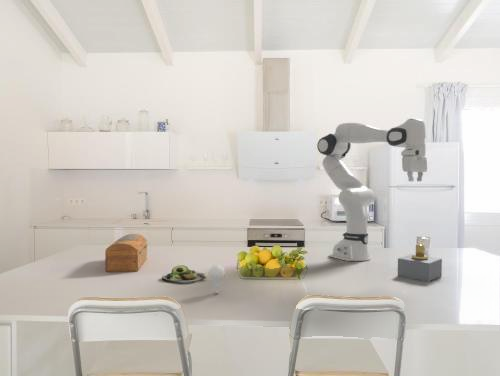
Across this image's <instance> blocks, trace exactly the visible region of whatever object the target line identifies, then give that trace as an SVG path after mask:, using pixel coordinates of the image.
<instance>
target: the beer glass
mask: <svg viewBox="0 0 500 376" xmlns="http://www.w3.org/2000/svg"><path fill="white" fill-rule="evenodd" d="M417 244H420V245H424V255H425V256H428V257H431V256H430V255H431V251H432V250H431V248H432V241H431V237H429V236H416V237H415V246H416V245H417Z"/></svg>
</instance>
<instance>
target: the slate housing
mask: <svg viewBox="0 0 500 376" xmlns="http://www.w3.org/2000/svg"><path fill="white" fill-rule="evenodd" d="M412 255H414V253H413V254H412V253H411V254H407V255H404V256H401V257H398V258H397V277H402V278H406V279H407V278H408V279H412V280H416V279H418V280H417V281H422V280H424V281H423V282H427V281H430V282H432V281H434V280H436V278H437V279H439V278H441V277H442V276H443V275H442V272H443V267H442V265H443V258H439V257H431V256H429V257H428V259H427V260H417V259H413V258H412ZM438 277H439V278H438ZM433 279H434V280H433ZM431 280H432V281H431Z"/></svg>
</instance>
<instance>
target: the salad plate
mask: <svg viewBox="0 0 500 376" xmlns="http://www.w3.org/2000/svg"><path fill="white" fill-rule="evenodd" d="M207 278H208V277H207V276H206V274H205V273H204V272H199V271H198V272H197V271H196V270H193V269H189V267H188V266H186V265H177V266H174V267H173V268H172V269H171V272H170V273H166V274H163V275H161V279H162V280H163V281H164V282H166V283H167V282H168V283H175V284H183V285H184V284H193V283H197V282H199V281H201V280H204V279H207Z"/></svg>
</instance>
